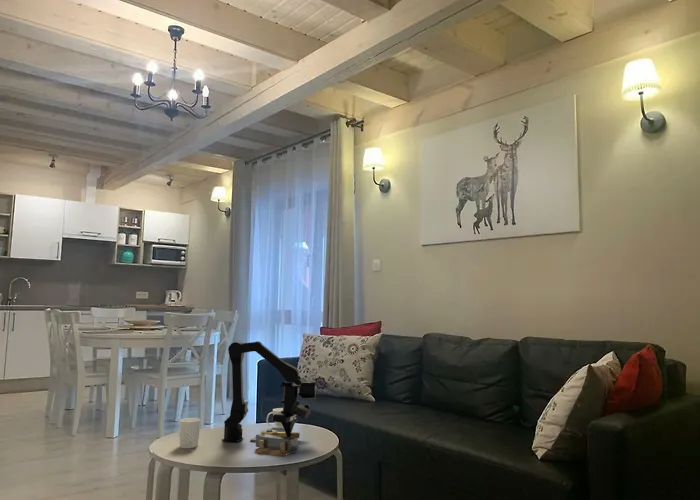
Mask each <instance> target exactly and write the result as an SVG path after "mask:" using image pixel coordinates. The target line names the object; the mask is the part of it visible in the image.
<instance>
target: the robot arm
mask: <svg viewBox="0 0 700 500" xmlns="http://www.w3.org/2000/svg"><path fill="white" fill-rule="evenodd" d="M227 350H228V356H229V360H230V363H231V368H232V369H231V370H232V371H231V372H232V373H231V374H232V375H231V377H232V402H231V405H230V414H229V416H228V417H227V419H225V420H224V421H223V424H224V427H223V428H224V430H223V432H224V433H223V434H224V435H223V438H222V439H221V442H227V443H237V442H239V441H242V440H244V437H243V428H242V427H243V424H241V422H242V421H243V420H244V419H245V417H246V416H247V413H249V409H248V405H249V401H245V399H244V385H243V384H244V382H243V381H244V379H243V377H244V376H243V362H244V356H245V353H250V352H251V353H252V352H256V354H258V355H259V356H261V357H262V358H263V359H265V360H266V361H267V362H268V363H270V364H271V366H273V367H275V369H277V371H278V372H279V374H280V375H281V376H282V377H283V379H285V380H282V382H281V383H280V384H279V387H280V388H281V387H282V388H283V399H282V400H281V404H282V405H283V406H282V408H283V411H281V413H278V414H274V415H273V414H272V419H271V420H272V422H273V423H274V422H281V423H282V426H283V428H282V429H283V430H284V432H285V433H286V435H287V437H290V435H291V432H292V431H293V429H294V426H295V424H296V423H297V422H298V421H300V419H298V418H297V417H300V418H301V419H303V420H304V419H306V418H307V419H308V418H309V415H310V414H311V413H312V408H311V405H310V404H309V403H307V404H304V405H302V404H301V403H300V400H299V399H298V396H299V397H301V399H308V400H309V399H311V400H313V399H314V400H316V391H317V389H316V381H304V380H303V379H302V377H301V376H300V372H299V369H298V368H297V367H296V366H294V365H292V364H290V363H289V362H286V361H284V360H283V359H282V358H280V357H279V356H277V355H276V354H275V353H274V352H272V351H271V350H270V349H269V348H268V347H266V346H265V345H264V344H263V342H261V341H253V342H244V343H243V342H242V341H234V342H232V343H231V344H229V345H228V349H227ZM286 381H287V382H286Z"/></svg>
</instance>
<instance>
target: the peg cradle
mask: <svg viewBox="0 0 700 500" xmlns="http://www.w3.org/2000/svg"><path fill="white" fill-rule="evenodd" d="M290 452H291V453H293V452H292V451H286V450H285V443H281V448H280V450H278V449H270V448H264V440H260V441H259V447H256V448H255V454H264V455H271V456H278V455H279V456H278V457H285V455H286V454H287V455H289V454H291V453H290ZM288 453H289V454H288ZM287 455H286V456H287Z"/></svg>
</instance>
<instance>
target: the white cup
mask: <svg viewBox="0 0 700 500" xmlns="http://www.w3.org/2000/svg"><path fill="white" fill-rule="evenodd" d="M200 428H201V418H198V417H186V418H185V417H184V418H181V419H179V435H178V436H179V448H181V449H194V448H197V447H198V445H199V439H200V431H201V429H200Z"/></svg>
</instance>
